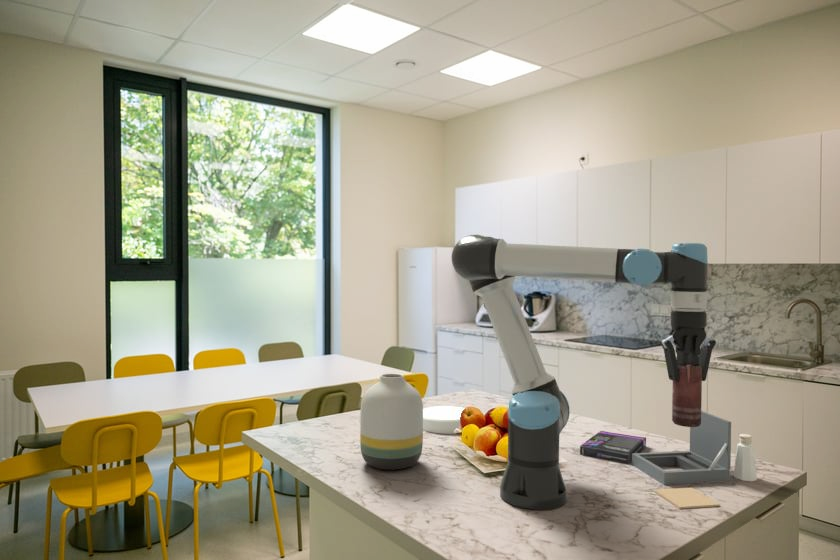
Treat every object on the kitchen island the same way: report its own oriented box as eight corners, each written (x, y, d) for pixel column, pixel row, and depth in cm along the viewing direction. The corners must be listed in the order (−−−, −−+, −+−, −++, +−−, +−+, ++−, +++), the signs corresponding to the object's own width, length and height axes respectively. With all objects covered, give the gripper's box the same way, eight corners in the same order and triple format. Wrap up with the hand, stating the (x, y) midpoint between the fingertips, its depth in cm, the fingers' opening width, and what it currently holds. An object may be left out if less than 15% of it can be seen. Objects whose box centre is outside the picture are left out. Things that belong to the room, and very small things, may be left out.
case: (664, 484, 139) (665, 424, 139) (631, 464, 153) (632, 409, 153) (730, 481, 142) (731, 421, 141) (692, 461, 156) (692, 407, 156)
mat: (679, 508, 125) (679, 507, 125) (653, 491, 134) (653, 489, 134) (720, 506, 126) (720, 504, 126) (691, 489, 136) (691, 487, 136)
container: (446, 415, 206) (446, 402, 206) (488, 426, 191) (488, 413, 191) (405, 425, 192) (405, 411, 192) (446, 438, 177) (446, 423, 177)
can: (676, 426, 128) (676, 365, 128) (669, 419, 134) (670, 361, 134) (704, 428, 127) (705, 366, 126) (696, 421, 133) (697, 362, 133)
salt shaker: (736, 472, 148) (737, 430, 148) (760, 477, 144) (760, 435, 144) (730, 477, 144) (730, 434, 144) (753, 483, 140) (754, 439, 140)
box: (600, 441, 178) (578, 456, 162) (600, 430, 178) (578, 444, 162) (646, 449, 170) (628, 465, 154) (646, 437, 170) (628, 452, 154)
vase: (435, 463, 153) (436, 375, 152) (390, 480, 140) (391, 384, 140) (392, 449, 164) (392, 368, 164) (347, 464, 152) (347, 375, 152)
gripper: (671, 311, 125) (669, 416, 125) (726, 311, 127) (724, 414, 128) (652, 308, 133) (650, 408, 133) (704, 308, 135) (702, 406, 135)
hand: (686, 411), depth 130 cm, fingers closed
